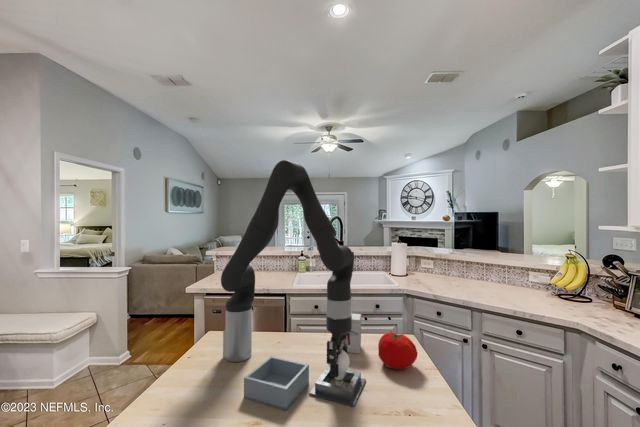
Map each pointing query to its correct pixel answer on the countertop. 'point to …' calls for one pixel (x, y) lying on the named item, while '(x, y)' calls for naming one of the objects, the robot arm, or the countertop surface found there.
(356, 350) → the supplement box
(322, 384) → the dark grey square frame
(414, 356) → the tomato
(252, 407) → the countertop surface
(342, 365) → the lightbulb
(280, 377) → the bin
